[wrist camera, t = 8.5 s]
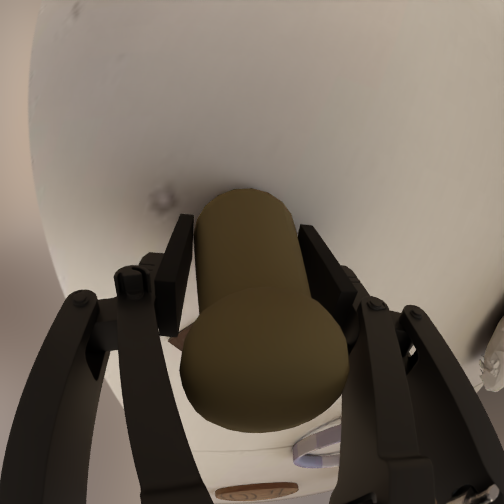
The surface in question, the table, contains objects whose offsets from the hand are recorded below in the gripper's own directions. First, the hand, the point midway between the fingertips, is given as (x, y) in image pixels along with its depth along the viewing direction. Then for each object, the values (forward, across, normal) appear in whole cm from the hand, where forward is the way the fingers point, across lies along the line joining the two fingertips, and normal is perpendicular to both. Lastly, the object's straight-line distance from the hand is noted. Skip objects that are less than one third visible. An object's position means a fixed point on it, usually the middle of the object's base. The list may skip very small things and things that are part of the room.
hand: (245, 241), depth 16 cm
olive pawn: (+1, 0, 0) cm, 1 cm away
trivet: (+2, +13, -83) cm, 84 cm away
